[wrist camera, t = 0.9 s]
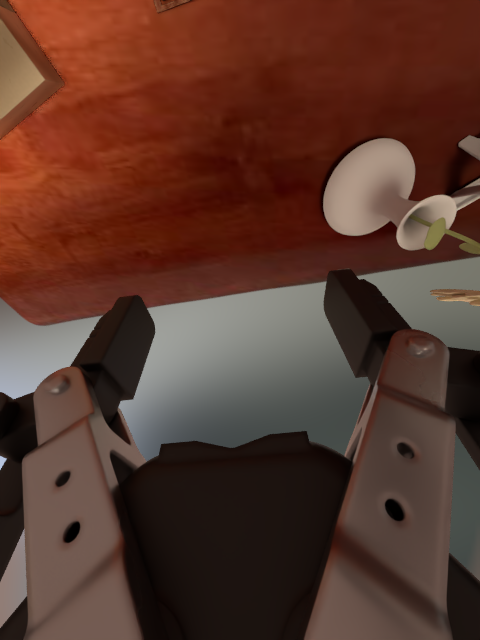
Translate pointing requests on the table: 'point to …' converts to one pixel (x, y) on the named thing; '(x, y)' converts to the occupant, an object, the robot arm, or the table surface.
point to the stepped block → (21, 71)
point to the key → (168, 4)
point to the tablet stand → (475, 189)
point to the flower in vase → (391, 203)
